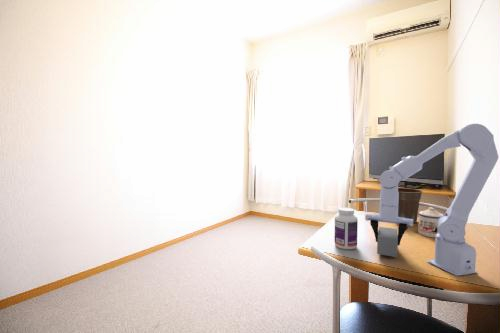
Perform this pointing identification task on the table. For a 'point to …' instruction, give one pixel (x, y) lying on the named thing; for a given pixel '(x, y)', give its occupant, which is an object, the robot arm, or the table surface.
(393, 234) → the grey block
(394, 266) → the table surface
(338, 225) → the pill bottle
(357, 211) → the table surface
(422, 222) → the teacup with lid
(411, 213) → the plant pot
